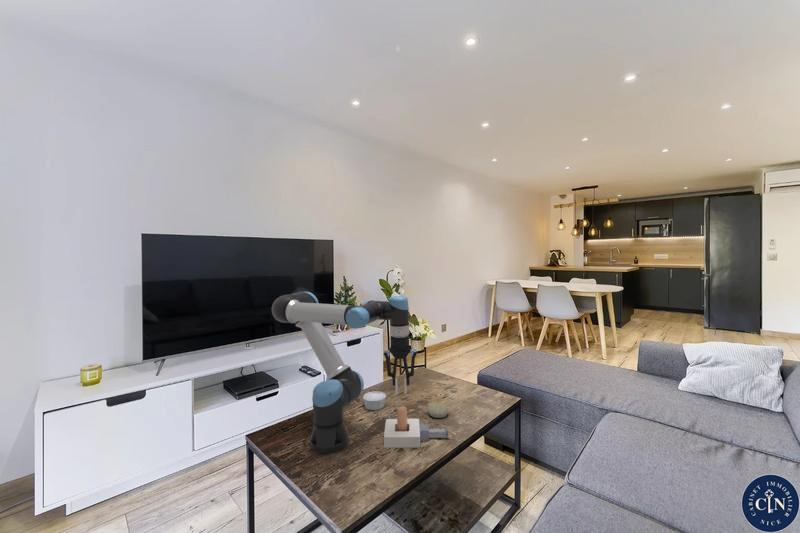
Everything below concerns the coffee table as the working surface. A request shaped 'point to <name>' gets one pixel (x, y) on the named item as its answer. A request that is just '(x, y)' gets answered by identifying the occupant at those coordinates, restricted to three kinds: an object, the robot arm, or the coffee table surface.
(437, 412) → the sea urchin shell
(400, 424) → the peg
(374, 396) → the ramekin
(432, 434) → the lock pin
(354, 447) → the coffee table surface
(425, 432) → the pin guide
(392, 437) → the dock
